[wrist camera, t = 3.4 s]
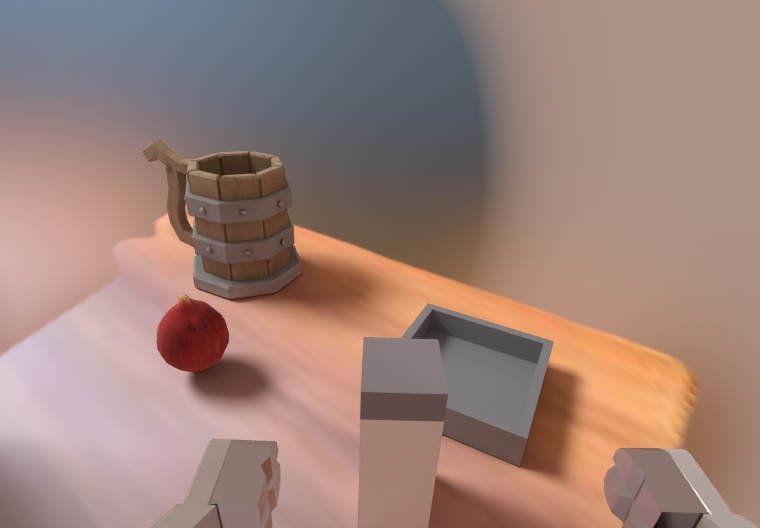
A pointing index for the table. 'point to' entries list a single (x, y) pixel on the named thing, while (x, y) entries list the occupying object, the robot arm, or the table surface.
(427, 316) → the walled box
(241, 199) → the tankard
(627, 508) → the robot arm
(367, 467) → the plug
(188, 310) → the onion
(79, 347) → the table surface
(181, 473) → the table surface
